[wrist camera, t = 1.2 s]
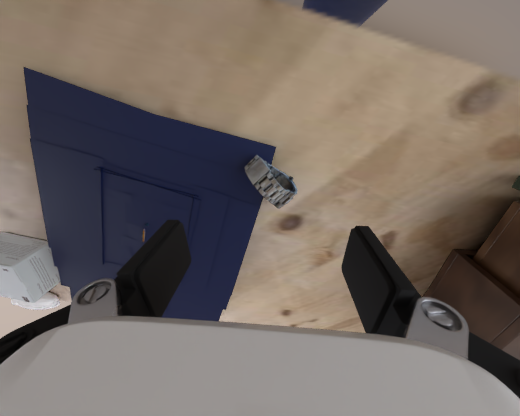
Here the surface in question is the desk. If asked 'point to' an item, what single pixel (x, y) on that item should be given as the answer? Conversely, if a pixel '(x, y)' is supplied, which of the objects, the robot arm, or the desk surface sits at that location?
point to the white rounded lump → (39, 302)
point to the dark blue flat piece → (139, 191)
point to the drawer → (504, 249)
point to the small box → (26, 268)
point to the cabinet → (479, 301)
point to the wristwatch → (270, 182)
